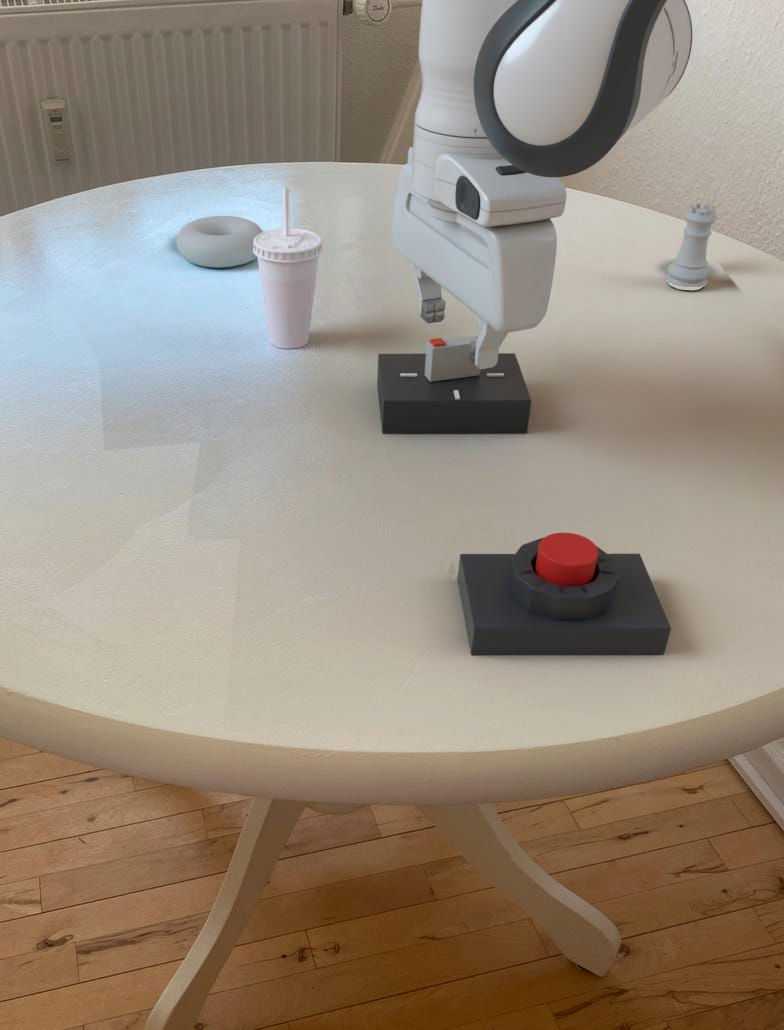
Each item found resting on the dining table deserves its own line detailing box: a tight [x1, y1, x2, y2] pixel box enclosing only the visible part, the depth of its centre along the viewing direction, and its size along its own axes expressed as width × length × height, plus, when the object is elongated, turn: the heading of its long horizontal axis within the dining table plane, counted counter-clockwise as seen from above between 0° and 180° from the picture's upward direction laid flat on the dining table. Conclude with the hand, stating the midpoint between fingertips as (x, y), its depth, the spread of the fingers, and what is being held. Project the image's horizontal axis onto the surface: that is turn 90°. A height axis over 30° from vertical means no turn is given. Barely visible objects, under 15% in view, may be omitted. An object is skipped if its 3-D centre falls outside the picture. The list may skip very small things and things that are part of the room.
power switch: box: [456, 537, 672, 656], centre depth 68 cm, size 12×8×4 cm, turn 90°
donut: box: [176, 215, 264, 269], centre depth 119 cm, size 10×4×10 cm
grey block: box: [425, 335, 480, 382], centre depth 88 cm, size 4×1×3 cm, turn 106°
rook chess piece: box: [665, 202, 718, 287], centre depth 110 cm, size 4×4×8 cm
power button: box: [536, 532, 598, 586], centre depth 66 cm, size 4×4×2 cm
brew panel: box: [376, 352, 532, 434], centre depth 90 cm, size 12×9×3 cm
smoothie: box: [253, 186, 324, 350], centre depth 98 cm, size 6×6×14 cm
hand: (455, 341), depth 87 cm, fingers open, 8 cm apart
